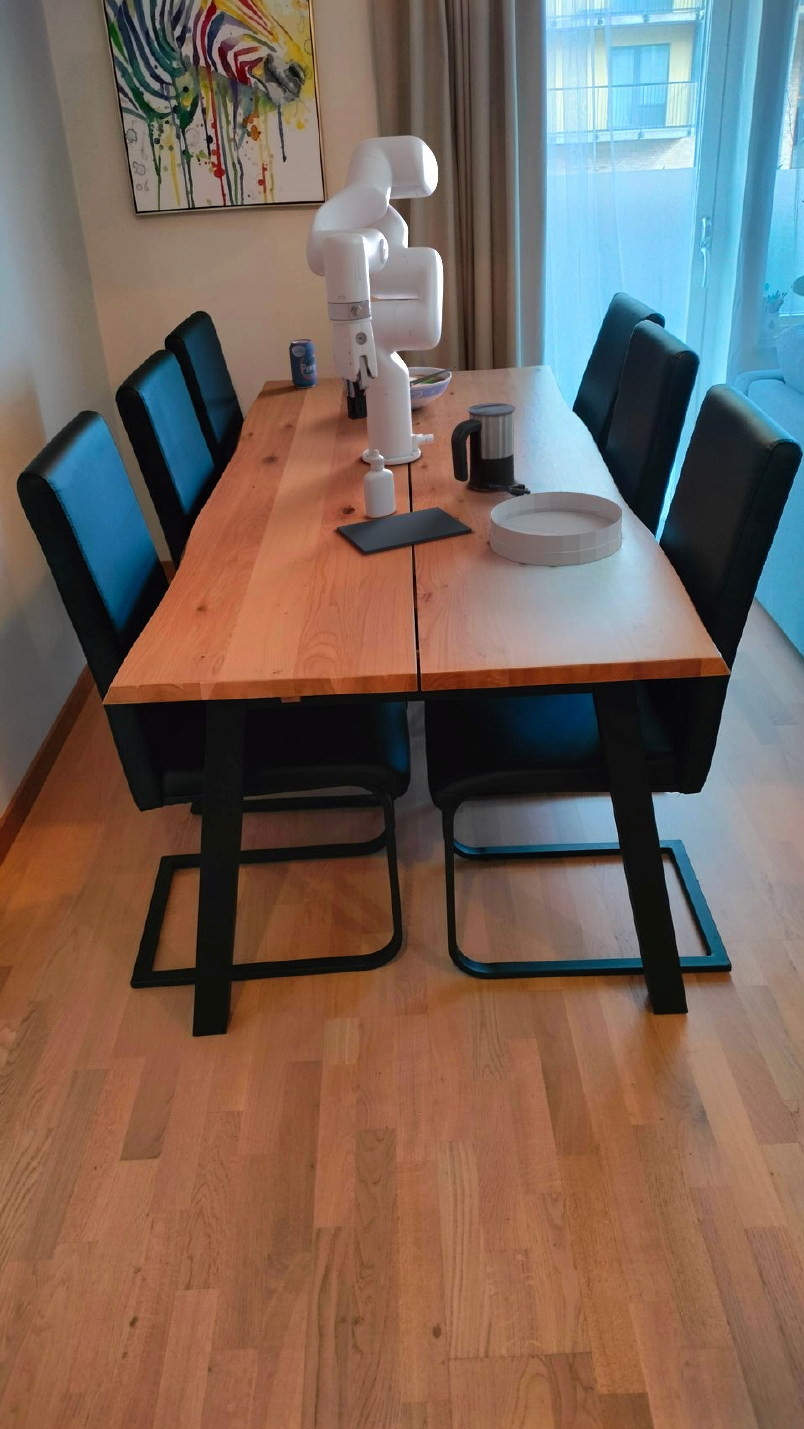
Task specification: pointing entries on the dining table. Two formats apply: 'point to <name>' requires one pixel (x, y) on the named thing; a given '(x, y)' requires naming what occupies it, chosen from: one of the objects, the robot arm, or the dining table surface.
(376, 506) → the eye dropper bottle
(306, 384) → the soda can
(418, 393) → the ramen bowl
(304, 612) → the dining table surface
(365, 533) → the mat
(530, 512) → the dish
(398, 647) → the dining table surface
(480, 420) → the milk frother
